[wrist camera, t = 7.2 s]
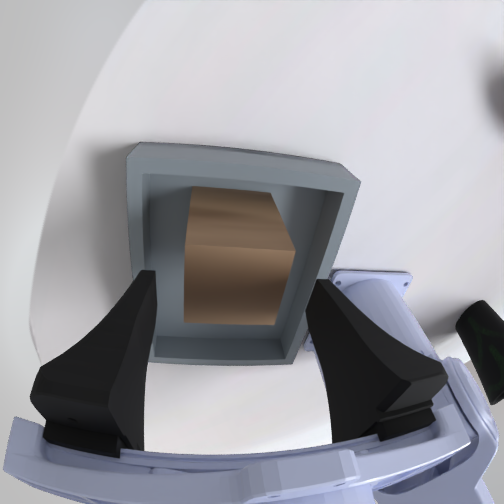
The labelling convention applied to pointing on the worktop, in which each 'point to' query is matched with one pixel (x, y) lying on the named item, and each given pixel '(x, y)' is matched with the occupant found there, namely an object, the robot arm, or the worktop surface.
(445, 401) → the robot arm
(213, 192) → the block
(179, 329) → the tray
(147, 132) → the worktop surface
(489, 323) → the cup
